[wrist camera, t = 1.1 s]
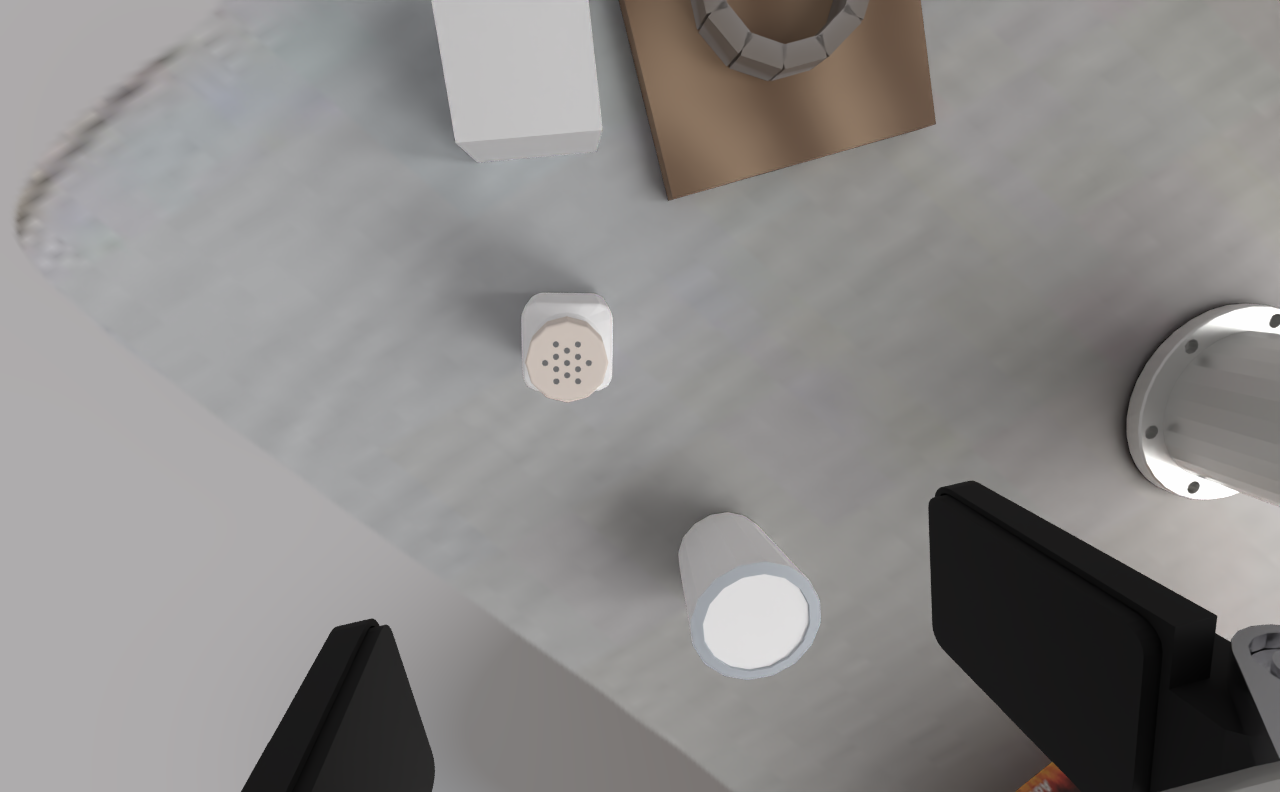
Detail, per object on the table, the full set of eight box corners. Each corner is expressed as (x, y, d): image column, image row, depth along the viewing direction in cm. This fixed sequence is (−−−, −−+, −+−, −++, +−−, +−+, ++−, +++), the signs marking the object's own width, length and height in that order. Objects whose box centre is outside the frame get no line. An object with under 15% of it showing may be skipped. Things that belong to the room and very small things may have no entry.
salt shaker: (531, 365, 32) (516, 413, 23) (529, 291, 31) (512, 310, 22) (604, 365, 33) (617, 412, 24) (605, 292, 32) (619, 311, 23)
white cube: (477, 163, 30) (454, 143, 24) (455, 29, 28) (425, -27, 22) (597, 152, 30) (603, 129, 24) (582, 20, 28) (584, -38, 23)
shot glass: (653, 524, 35) (673, 590, 29) (761, 487, 36) (805, 543, 29) (685, 617, 37) (711, 699, 31) (787, 581, 37) (835, 655, 31)
